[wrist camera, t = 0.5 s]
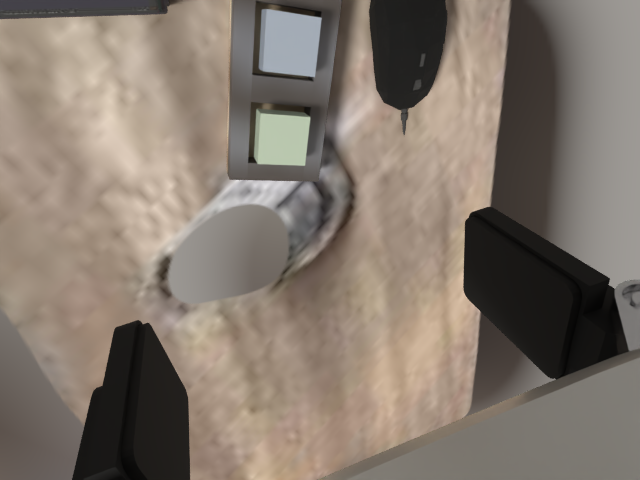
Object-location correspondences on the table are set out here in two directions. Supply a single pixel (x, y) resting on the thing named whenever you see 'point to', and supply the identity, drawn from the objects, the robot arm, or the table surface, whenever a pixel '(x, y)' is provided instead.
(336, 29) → the keypad
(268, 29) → the key slate
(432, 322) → the table surface
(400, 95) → the gaming mouse
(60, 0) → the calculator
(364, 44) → the table surface
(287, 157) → the key sage
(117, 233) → the table surface
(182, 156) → the table surface
